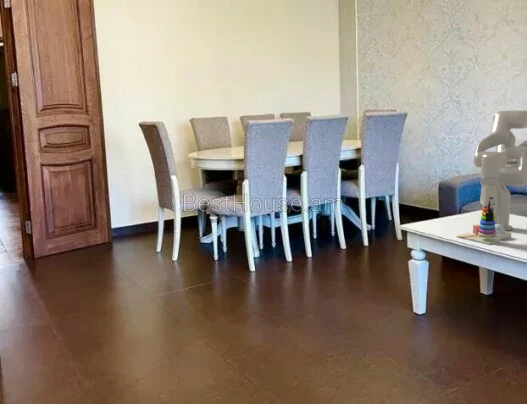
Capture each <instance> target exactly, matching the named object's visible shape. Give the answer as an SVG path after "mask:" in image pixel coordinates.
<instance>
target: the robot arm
mask: <svg viewBox="0 0 527 404" xmlns="http://www.w3.org/2000/svg"><path fill="white" fill-rule="evenodd" d="M526 128H527V110H499V111H496V112H495V113H493V117H492V125H491V130H490V134H488V135H487V136H486V137H484V138H483V139H481V140H480V141H479V143H478V144H477V146H476V148H475V152H474V156H473V164H474V166H475V167H478V168H480V182H479V183H480V185H481V188H480V198H479V204H480V205H482V208H483V207H487V213H486V222H493V216H494V217H495V219H494V221H495V224H500V225H502V226H503V229H505V231H507V232H508V231H511V230H513V225H511V224H510V214H511V212H510V209H511V191H509V189H508V187H507V186H510V187H512V186H513V187H523V186H525V185H526V184H527V146H520V145H519V146H518V145H516V141H517V139H516V136H515V134H514V133H513V132H512V131H511V129H512V130H513V129H526ZM492 148H495V151H487V150H489V149H492ZM493 203H494V204H493ZM488 205H490V206H488ZM488 208H489V210H488ZM494 213H495V215H494Z"/></svg>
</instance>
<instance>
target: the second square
mask: <svg viewBox="0 0 527 404" xmlns="http://www.w3.org/2000/svg"><path fill="white" fill-rule="evenodd" d="M501 241H502V240H498V239H493V238H482V237H481V238H477V239H473V241H472V242H475V243H480V244H484V245H489V246H490V245H493V244H497V243H501Z"/></svg>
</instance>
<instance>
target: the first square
mask: <svg viewBox="0 0 527 404" xmlns="http://www.w3.org/2000/svg"><path fill="white" fill-rule="evenodd" d="M457 238H459V239H462V240H468V241H470V242H471V241H472V242H474V241H473V239H477V238H481V237H479V236H478V235H476V234H474V233H470V232H466V233H462V234H459V235H456V239H457Z"/></svg>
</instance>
